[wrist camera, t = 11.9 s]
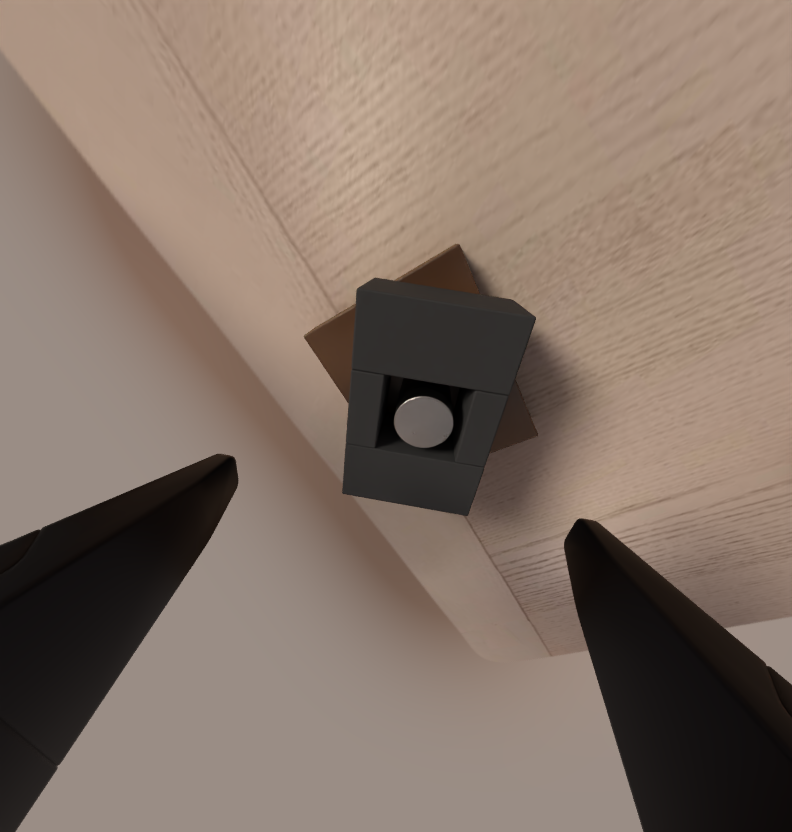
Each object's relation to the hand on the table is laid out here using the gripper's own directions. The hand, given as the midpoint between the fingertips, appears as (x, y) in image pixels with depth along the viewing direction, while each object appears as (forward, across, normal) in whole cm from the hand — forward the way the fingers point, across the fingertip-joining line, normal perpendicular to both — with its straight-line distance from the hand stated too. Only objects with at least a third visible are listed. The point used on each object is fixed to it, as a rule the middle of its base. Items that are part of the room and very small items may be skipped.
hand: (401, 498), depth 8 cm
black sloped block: (+8, 0, 0) cm, 8 cm away
